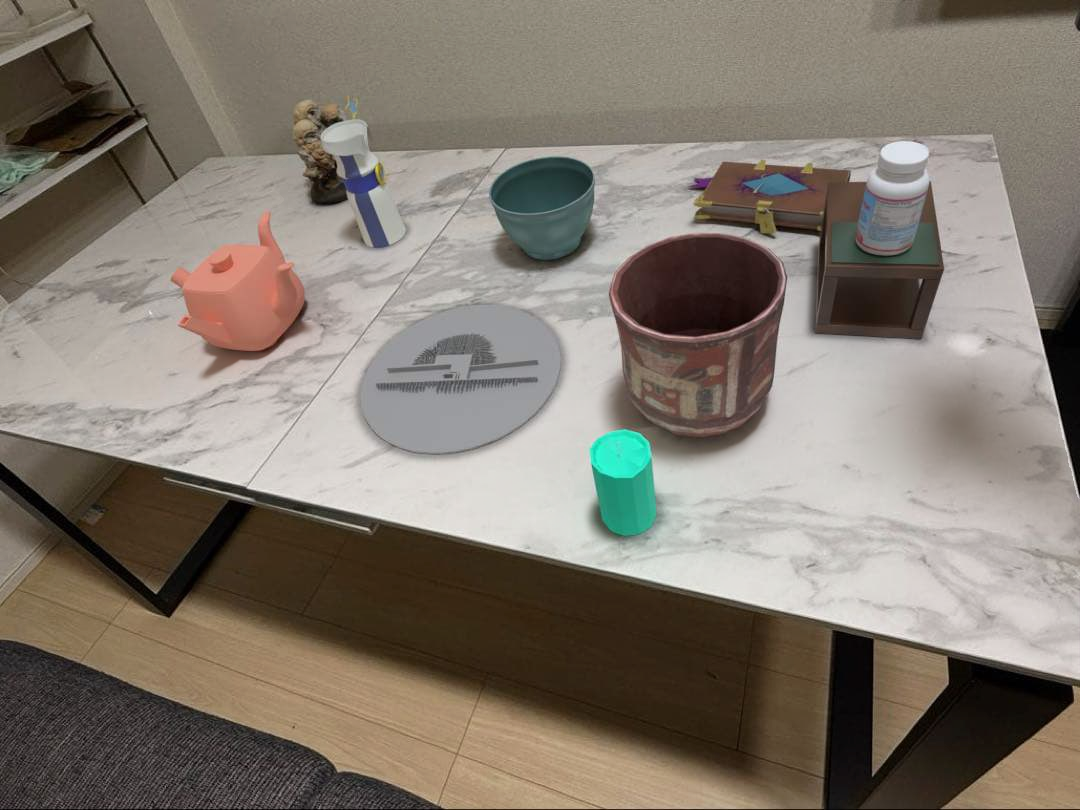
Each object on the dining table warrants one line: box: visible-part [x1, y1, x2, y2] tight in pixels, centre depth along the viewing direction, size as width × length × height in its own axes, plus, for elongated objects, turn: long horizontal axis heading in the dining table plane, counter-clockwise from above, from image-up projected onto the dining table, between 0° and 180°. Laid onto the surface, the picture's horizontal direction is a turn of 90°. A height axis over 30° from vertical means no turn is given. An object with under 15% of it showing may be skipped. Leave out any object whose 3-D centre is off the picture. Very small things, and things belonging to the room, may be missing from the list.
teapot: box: [170, 210, 306, 352], centre depth 102 cm, size 18×18×14 cm
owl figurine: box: [291, 99, 350, 204], centre depth 129 cm, size 18×12×17 cm, turn 165°
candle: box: [589, 428, 658, 537], centre depth 67 cm, size 6×6×12 cm
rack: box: [814, 180, 945, 340], centre depth 84 cm, size 12×18×11 cm, turn 163°
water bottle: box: [321, 95, 407, 249], centre depth 110 cm, size 8×9×25 cm
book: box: [687, 159, 852, 234], centre depth 103 cm, size 16×25×5 cm, turn 63°
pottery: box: [608, 232, 788, 438], centre depth 74 cm, size 18×18×18 cm
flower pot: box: [488, 155, 596, 261], centre depth 104 cm, size 16×16×11 cm
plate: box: [360, 304, 562, 455], centre depth 91 cm, size 28×28×1 cm
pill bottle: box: [856, 140, 931, 256], centre depth 73 cm, size 6×6×11 cm
